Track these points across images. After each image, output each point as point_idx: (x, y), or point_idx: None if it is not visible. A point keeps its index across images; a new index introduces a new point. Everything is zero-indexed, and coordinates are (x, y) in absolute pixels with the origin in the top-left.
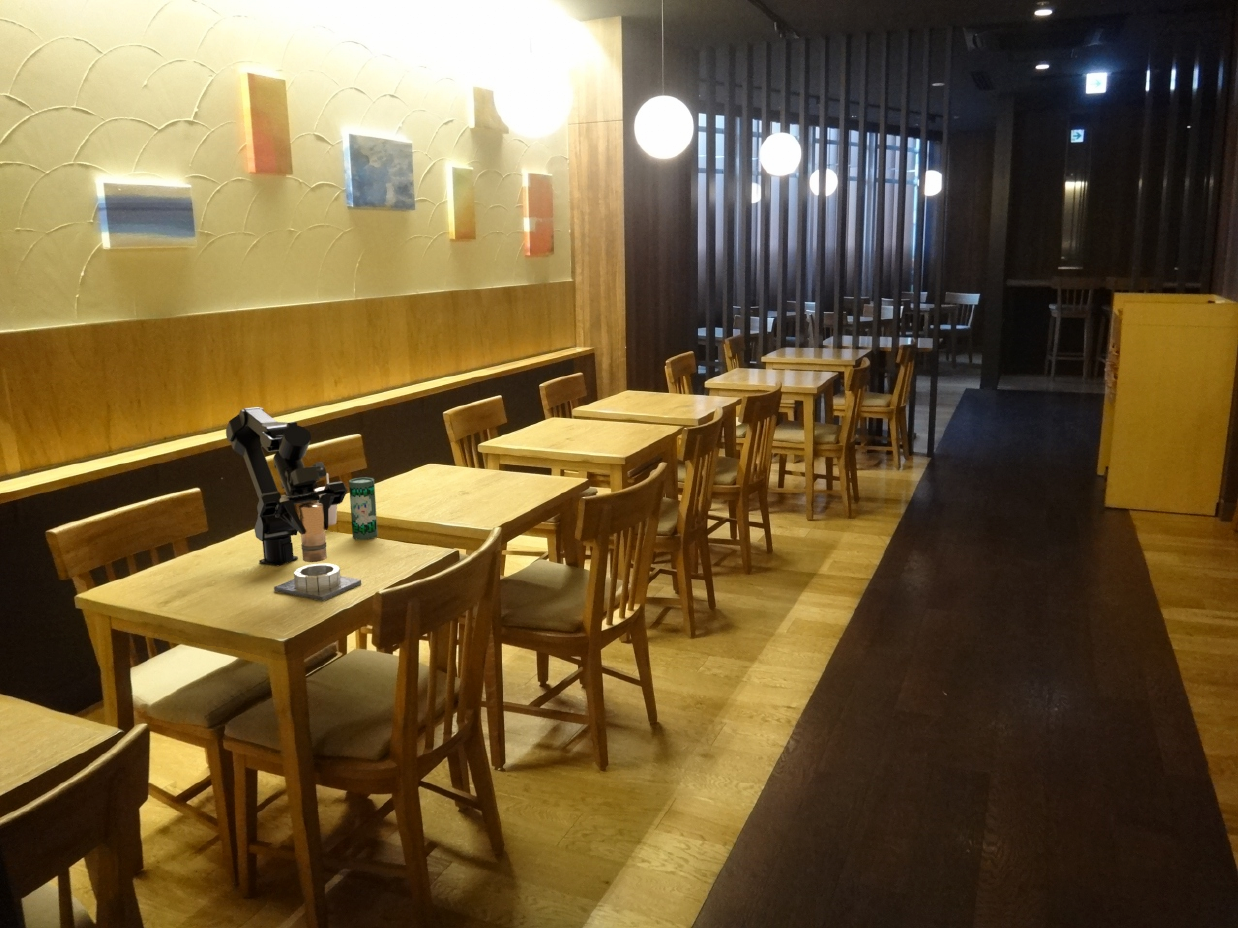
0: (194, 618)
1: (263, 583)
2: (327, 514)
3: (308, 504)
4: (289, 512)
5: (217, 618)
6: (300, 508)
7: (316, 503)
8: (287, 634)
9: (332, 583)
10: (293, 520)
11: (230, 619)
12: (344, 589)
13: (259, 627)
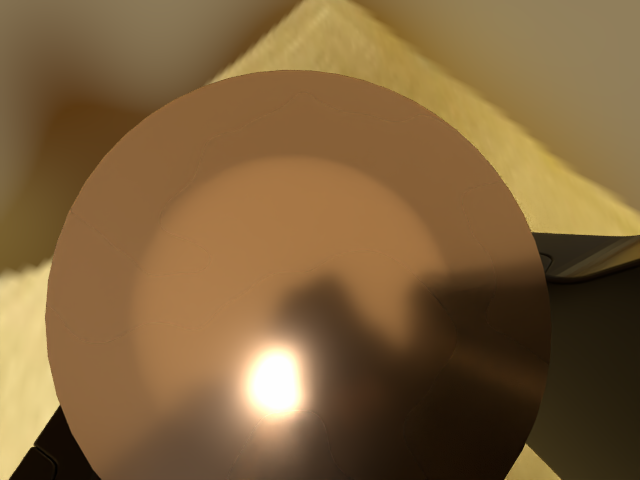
0: (572, 179)
1: None
2: (61, 418)
3: (391, 398)
4: (599, 237)
5: (515, 161)
6: (485, 164)
7: (205, 465)
8: (320, 8)
9: None
10: None
11: (481, 144)
12: None
13: (395, 69)
